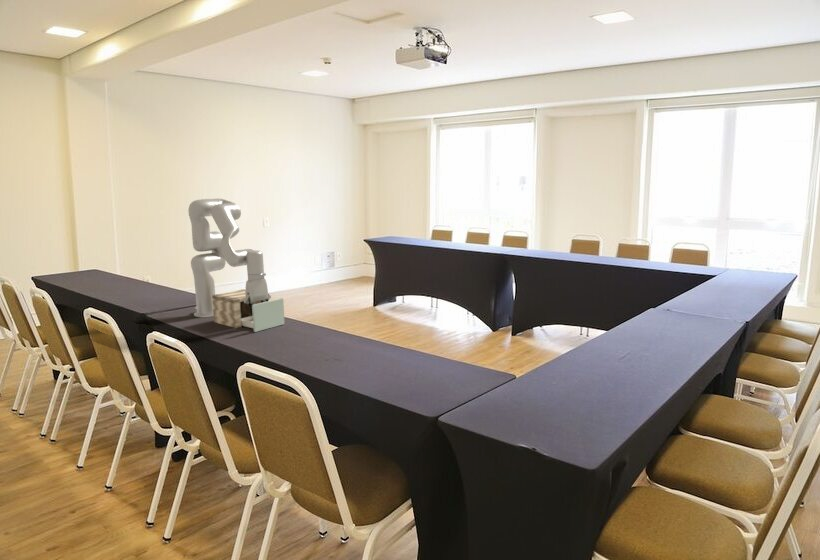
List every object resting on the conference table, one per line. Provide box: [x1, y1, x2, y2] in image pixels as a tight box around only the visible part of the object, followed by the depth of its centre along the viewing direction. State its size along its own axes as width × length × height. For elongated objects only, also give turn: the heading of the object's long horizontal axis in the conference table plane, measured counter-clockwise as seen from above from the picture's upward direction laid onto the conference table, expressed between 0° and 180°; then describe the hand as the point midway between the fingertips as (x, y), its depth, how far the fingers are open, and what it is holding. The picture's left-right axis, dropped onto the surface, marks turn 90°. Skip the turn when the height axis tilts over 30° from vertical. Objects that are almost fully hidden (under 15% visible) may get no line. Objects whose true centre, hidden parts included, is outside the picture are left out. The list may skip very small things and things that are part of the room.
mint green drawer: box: [241, 298, 285, 333], centre depth 273 cm, size 17×17×12 cm
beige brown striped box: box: [212, 288, 261, 329], centre depth 282 cm, size 18×18×14 cm
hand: (258, 314), depth 273 cm, fingers closed on block, 4 cm apart
